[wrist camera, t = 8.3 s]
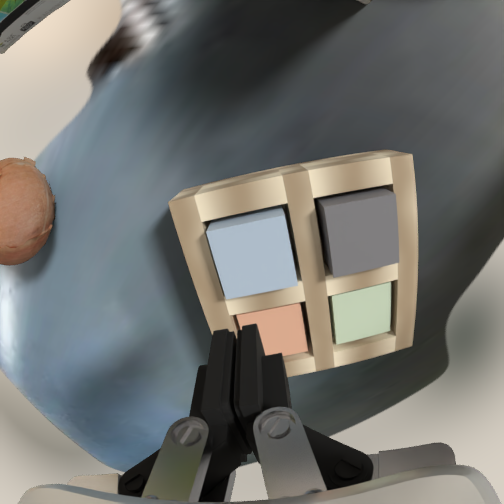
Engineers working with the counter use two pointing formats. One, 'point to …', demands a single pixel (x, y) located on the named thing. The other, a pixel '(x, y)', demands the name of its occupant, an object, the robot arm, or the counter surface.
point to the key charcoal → (359, 230)
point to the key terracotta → (278, 328)
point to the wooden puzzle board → (307, 250)
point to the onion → (23, 210)
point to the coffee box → (365, 1)
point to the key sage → (360, 312)
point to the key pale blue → (252, 252)
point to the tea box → (22, 18)
